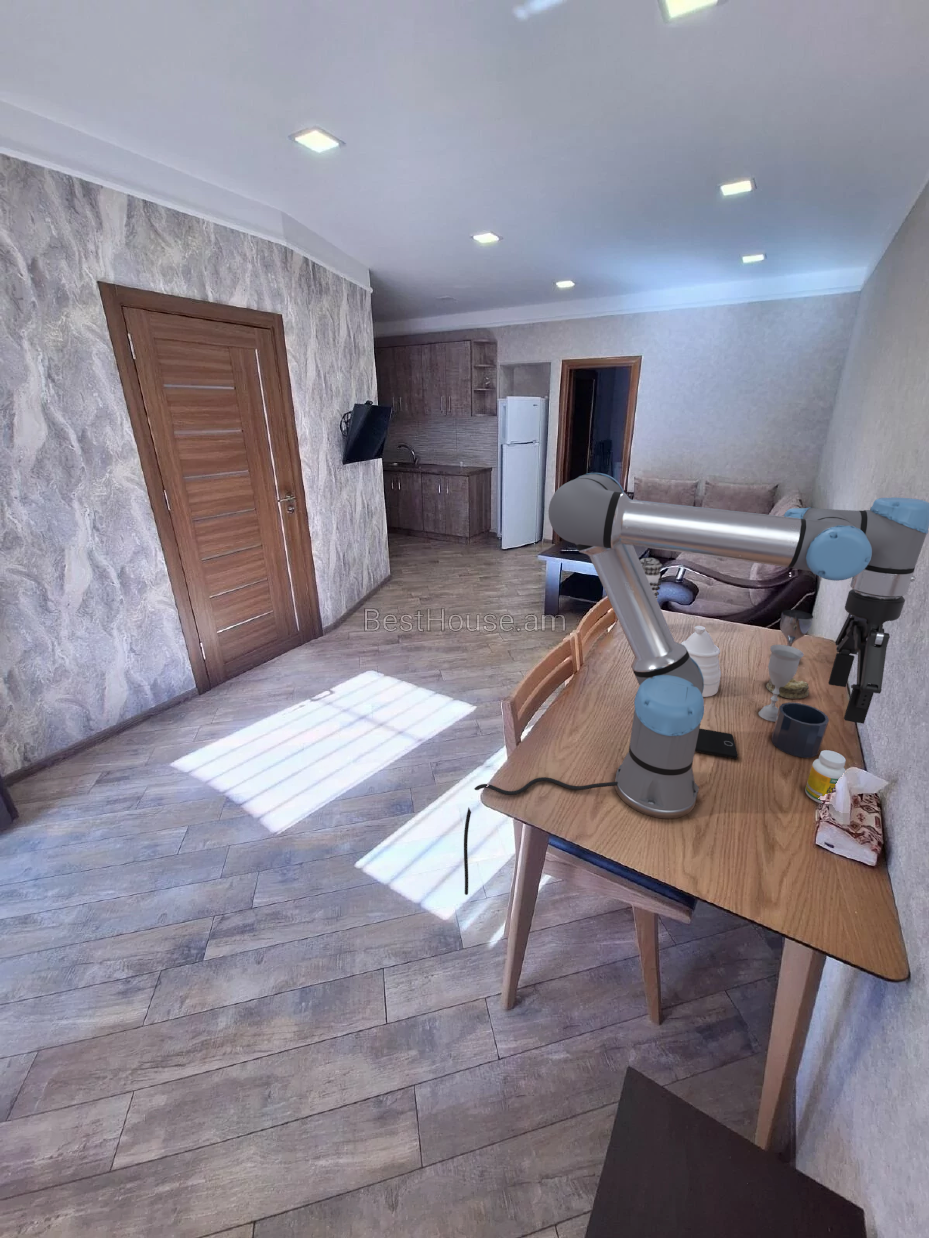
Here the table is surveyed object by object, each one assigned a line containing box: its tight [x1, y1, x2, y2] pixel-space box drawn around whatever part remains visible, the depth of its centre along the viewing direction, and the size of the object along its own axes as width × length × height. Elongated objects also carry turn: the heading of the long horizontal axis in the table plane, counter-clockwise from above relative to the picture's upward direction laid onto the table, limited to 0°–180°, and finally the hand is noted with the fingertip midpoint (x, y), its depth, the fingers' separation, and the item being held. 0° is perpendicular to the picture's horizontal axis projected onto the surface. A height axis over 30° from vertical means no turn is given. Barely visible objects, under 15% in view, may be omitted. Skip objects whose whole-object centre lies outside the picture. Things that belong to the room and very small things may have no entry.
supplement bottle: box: [804, 749, 847, 805], centre depth 97 cm, size 5×5×10 cm
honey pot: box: [680, 625, 722, 698], centre depth 137 cm, size 13×13×18 cm
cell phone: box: [695, 727, 739, 760], centre depth 116 cm, size 9×18×1 cm, turn 71°
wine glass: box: [779, 609, 814, 647], centre depth 151 cm, size 8×8×15 cm
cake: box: [765, 677, 810, 700], centre depth 136 cm, size 10×10×5 cm
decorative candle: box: [639, 557, 663, 600], centre depth 173 cm, size 9×9×25 cm
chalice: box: [758, 644, 804, 723], centre depth 122 cm, size 7×7×18 cm
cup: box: [771, 701, 830, 759], centre depth 113 cm, size 9×9×8 cm
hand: (844, 702), depth 92 cm, fingers open, 13 cm apart
